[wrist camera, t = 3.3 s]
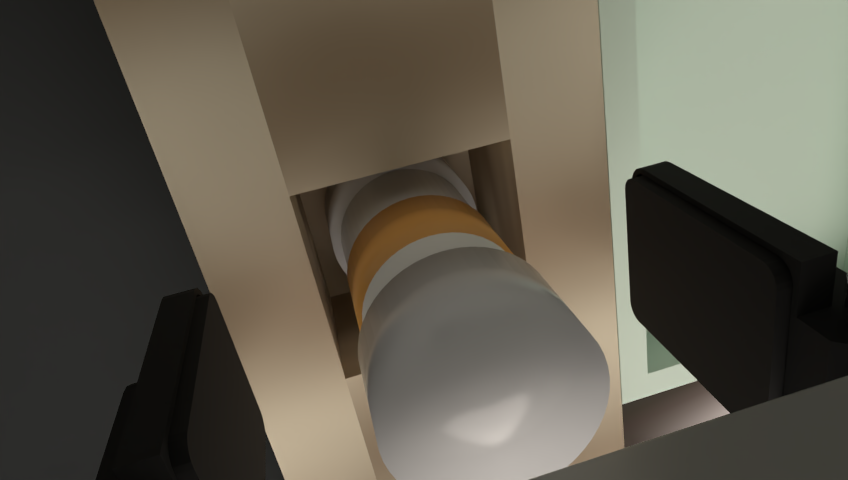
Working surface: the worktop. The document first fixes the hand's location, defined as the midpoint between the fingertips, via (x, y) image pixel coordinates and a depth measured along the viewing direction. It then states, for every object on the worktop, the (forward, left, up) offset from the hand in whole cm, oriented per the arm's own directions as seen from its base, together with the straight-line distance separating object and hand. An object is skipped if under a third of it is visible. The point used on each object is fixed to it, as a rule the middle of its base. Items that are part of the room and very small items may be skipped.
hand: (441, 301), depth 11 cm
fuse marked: (0, 0, -5) cm, 5 cm away
